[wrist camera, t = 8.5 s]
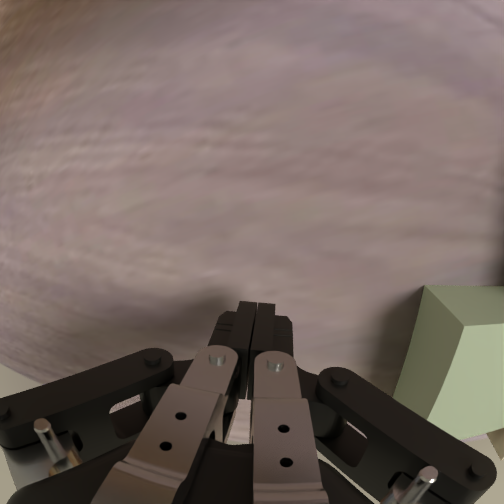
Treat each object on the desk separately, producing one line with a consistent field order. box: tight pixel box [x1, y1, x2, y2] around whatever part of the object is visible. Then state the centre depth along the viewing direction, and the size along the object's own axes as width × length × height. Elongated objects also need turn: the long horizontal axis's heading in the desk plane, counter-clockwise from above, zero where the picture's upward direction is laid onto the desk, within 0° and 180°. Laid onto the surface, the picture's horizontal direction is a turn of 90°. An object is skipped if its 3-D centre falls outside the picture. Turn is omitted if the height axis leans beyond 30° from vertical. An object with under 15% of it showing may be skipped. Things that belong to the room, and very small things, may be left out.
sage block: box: [393, 285, 504, 440], centre depth 14 cm, size 8×8×5 cm
